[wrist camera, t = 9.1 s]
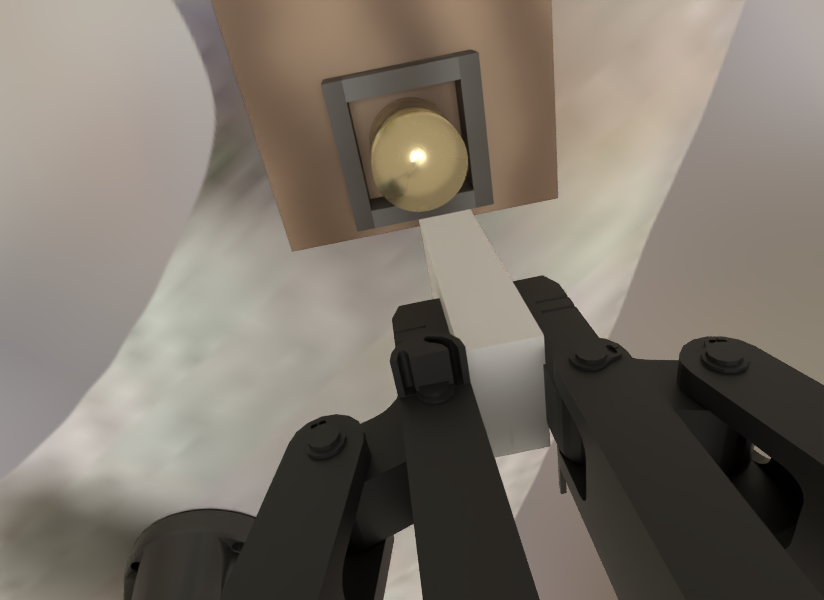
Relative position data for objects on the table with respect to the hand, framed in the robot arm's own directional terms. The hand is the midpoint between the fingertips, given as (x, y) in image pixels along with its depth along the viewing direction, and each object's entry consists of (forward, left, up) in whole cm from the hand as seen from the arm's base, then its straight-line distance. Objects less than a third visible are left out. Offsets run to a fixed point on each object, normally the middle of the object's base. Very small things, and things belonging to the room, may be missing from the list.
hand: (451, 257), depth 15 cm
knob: (0, 0, -15) cm, 15 cm away
